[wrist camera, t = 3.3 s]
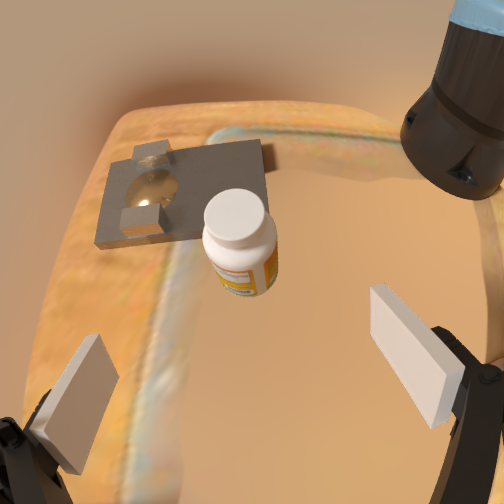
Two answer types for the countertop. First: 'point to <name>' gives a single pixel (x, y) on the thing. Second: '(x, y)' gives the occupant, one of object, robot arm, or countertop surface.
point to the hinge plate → (173, 190)
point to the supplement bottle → (241, 242)
